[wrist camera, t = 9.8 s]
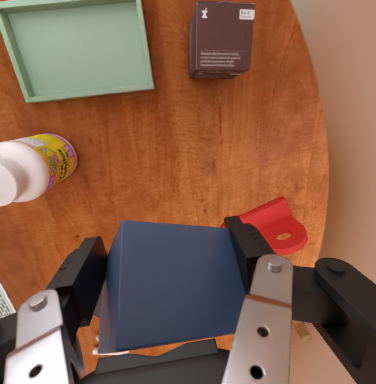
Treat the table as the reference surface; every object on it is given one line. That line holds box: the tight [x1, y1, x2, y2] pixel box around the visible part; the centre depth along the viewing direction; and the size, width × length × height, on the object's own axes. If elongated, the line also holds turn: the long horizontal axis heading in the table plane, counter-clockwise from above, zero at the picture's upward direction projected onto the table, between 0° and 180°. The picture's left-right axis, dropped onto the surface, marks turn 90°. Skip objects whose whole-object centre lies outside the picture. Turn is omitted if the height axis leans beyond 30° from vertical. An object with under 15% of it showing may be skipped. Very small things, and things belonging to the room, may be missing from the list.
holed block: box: [98, 220, 246, 354], centre depth 11 cm, size 6×6×4 cm
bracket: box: [221, 197, 308, 255], centre depth 35 cm, size 12×4×8 cm, turn 115°
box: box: [189, 1, 255, 79], centre depth 26 cm, size 6×6×7 cm
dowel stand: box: [291, 320, 312, 342], centre depth 39 cm, size 8×8×12 cm
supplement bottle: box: [0, 134, 77, 206], centre depth 26 cm, size 7×7×13 cm
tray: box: [0, 0, 155, 103], centre depth 27 cm, size 16×10×2 cm, turn 96°
